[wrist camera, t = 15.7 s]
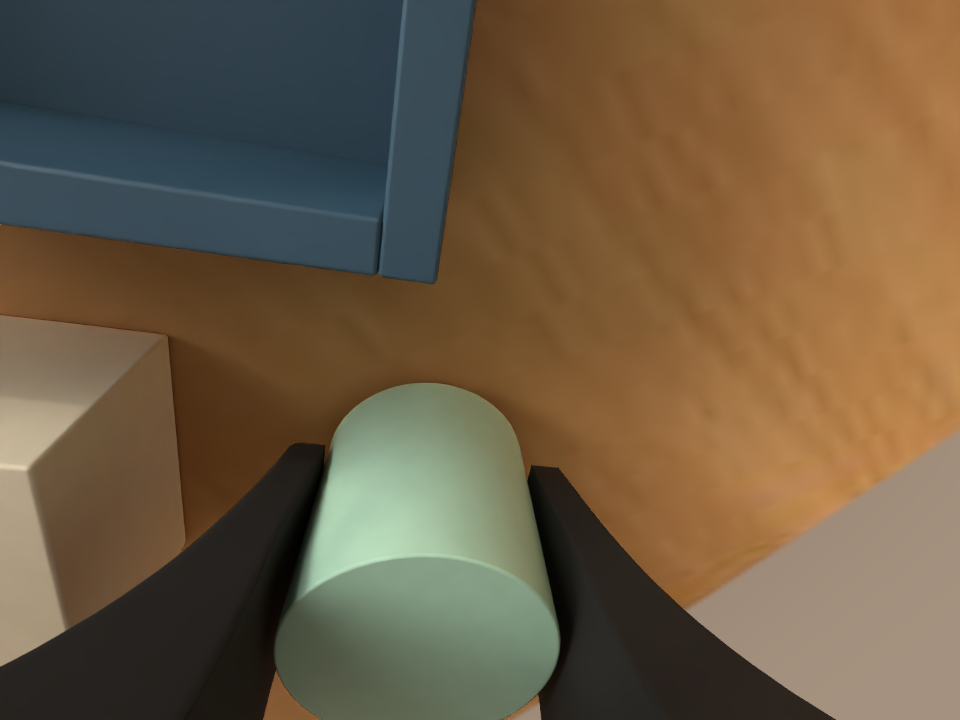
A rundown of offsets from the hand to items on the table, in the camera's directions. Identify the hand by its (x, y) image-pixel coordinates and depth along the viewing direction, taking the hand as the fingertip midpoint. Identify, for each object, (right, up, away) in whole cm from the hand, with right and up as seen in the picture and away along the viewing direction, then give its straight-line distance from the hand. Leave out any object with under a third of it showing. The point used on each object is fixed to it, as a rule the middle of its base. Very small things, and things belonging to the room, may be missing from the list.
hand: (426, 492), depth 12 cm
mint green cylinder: (0, 0, +1) cm, 1 cm away
